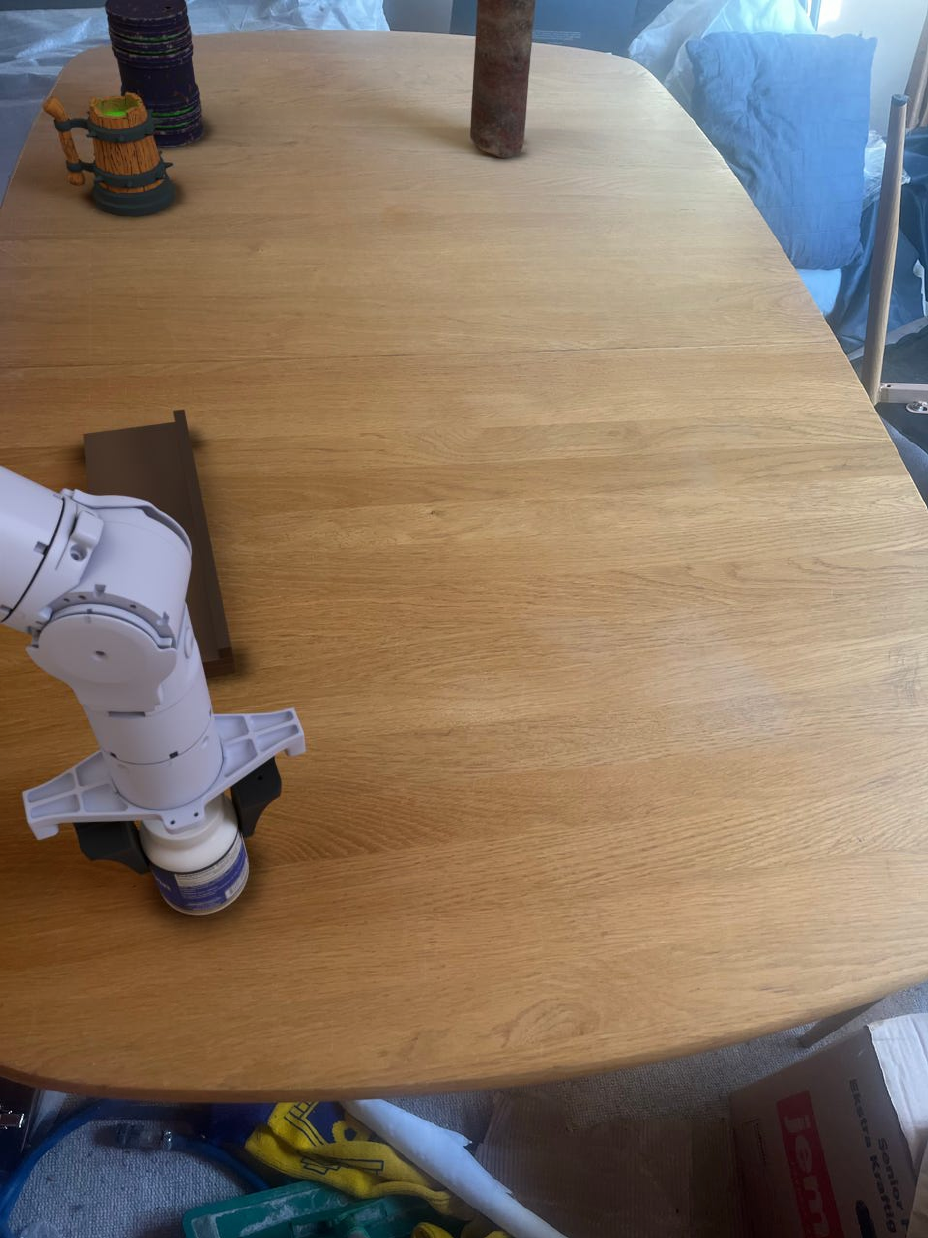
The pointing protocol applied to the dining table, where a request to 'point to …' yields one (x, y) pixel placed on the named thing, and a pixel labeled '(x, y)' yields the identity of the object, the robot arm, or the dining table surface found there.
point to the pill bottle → (198, 860)
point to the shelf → (168, 480)
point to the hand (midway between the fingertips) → (193, 841)
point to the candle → (501, 75)
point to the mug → (118, 155)
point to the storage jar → (158, 64)
